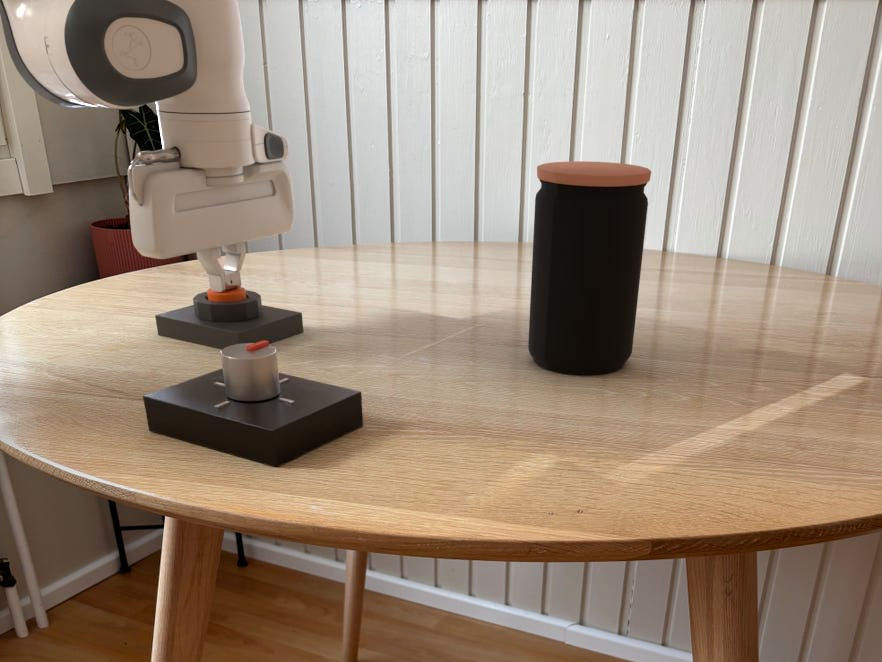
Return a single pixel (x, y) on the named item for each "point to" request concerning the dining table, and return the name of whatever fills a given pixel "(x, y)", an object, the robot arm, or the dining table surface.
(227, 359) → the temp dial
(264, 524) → the dining table surface
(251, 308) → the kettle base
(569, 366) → the coffee jar
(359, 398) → the dial panel
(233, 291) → the power button
